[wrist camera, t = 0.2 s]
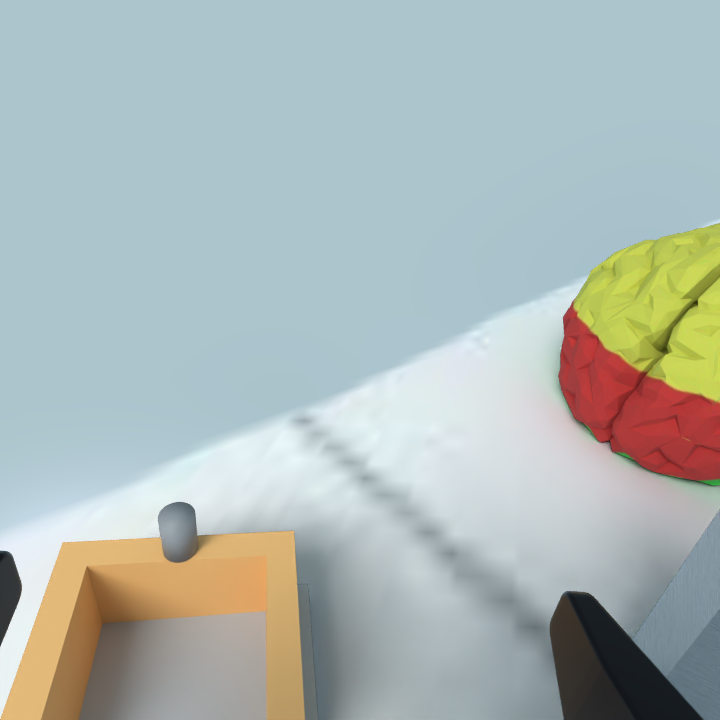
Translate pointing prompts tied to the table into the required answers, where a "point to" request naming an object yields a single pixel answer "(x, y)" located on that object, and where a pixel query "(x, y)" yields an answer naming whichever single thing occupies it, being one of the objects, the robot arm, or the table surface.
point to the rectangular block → (690, 627)
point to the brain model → (651, 354)
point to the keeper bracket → (171, 630)
